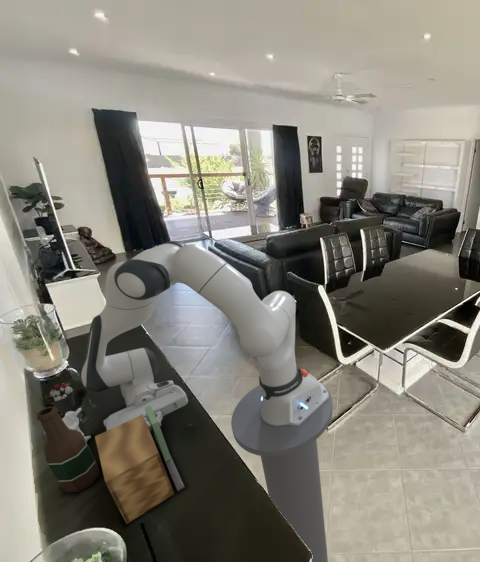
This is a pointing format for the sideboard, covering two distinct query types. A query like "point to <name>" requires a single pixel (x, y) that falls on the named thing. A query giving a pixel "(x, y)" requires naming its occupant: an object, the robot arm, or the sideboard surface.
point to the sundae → (62, 398)
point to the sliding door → (157, 433)
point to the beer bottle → (67, 452)
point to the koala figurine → (73, 422)
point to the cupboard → (135, 468)
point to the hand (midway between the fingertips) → (155, 426)
